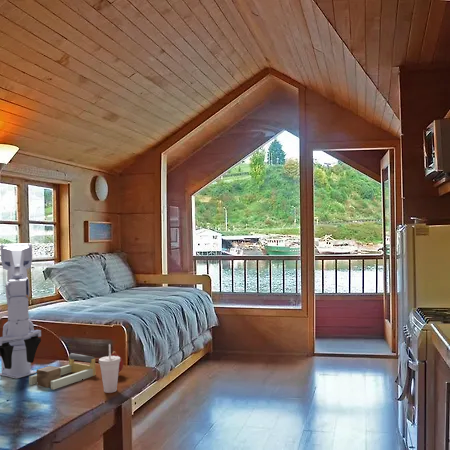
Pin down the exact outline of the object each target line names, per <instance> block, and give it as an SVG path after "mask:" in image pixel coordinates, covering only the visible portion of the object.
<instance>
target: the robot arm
mask: <svg viewBox="0 0 450 450" xmlns="http://www.w3.org/2000/svg"><path fill="white" fill-rule="evenodd" d="M0 261H1V266H2V269H3V270H5V271H7V273H6V275H7V281H5V298H6V305H7V321H6V322H5V323H4V324H3V326H2V336H0V357H1V358H0V361H1V373H0V376H2V377H7V378H12V379H21V378H24V377H27V376H32V375H35V374H36V371H37V370H32V366H31V364H33V363H34V362H35V358H36V353H37V350H38V347H39V346H40V344H41V341H42V338H41V337H42V330H41V329H35V328H34V323H33V321H31V320H30V319H29V318H30V317H29V298H30V292H31V291H30V287H31V286H30V280H29V277H28V270H29V269H30V268H32V265H33V244H32V243H31V242H29V243H27V242H26V243H2V244H1V245H0Z"/></svg>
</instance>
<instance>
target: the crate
mask: <svg viewBox="0 0 450 450" xmlns="http://www.w3.org/2000/svg"><path fill="white" fill-rule="evenodd" d="M35 371H36V373H35V375H36V374H37V383H36V385H37V387H43V388H51V381H53V380H56V379H59V378H62V375H61V369H60V368H59V366H58V367H57V366H54V365H48V366H45V367H42V368H38V369H36V370H35Z"/></svg>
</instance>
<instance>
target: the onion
mask: <svg viewBox="0 0 450 450" xmlns="http://www.w3.org/2000/svg"><path fill="white" fill-rule="evenodd" d="M111 356H118V357H120V360H121V361H120V362H119V372H118V374H119V373H120V372H121V371H122V370H123V369H124V361H123V358H122V357H121V356H120V355H118V354H117V351H114V350H113V351H112V353H111Z"/></svg>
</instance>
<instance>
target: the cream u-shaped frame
mask: <svg viewBox="0 0 450 450" xmlns="http://www.w3.org/2000/svg"><path fill="white" fill-rule="evenodd" d="M75 361H79V362H80V361H81V362H86V363H89V364H85V363H79V362H75ZM58 367H59V366H58ZM59 368H60V369H61V378H59V379H56V380H53V381H51V387H50V390H56V389H60V388H63V387H65V386H68V385H72V384H73V383H77V382H81V381H83V380H86V379H89V378H91V377H94V376H96V375H97V374H96V358H95V356H91V355H86V354H78V353H74V352H73V353H72V352H71V353H69V355H68V364H66V365H63V366H60V367H59ZM70 373H72V374H70ZM67 374H68V375H67ZM63 375H65V376H63ZM62 376H63V377H62ZM82 379H83V380H82ZM28 384H29V385H32V386H33V385H35V384H36V385H37V374H36V373H35V374H32V375H28Z"/></svg>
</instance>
